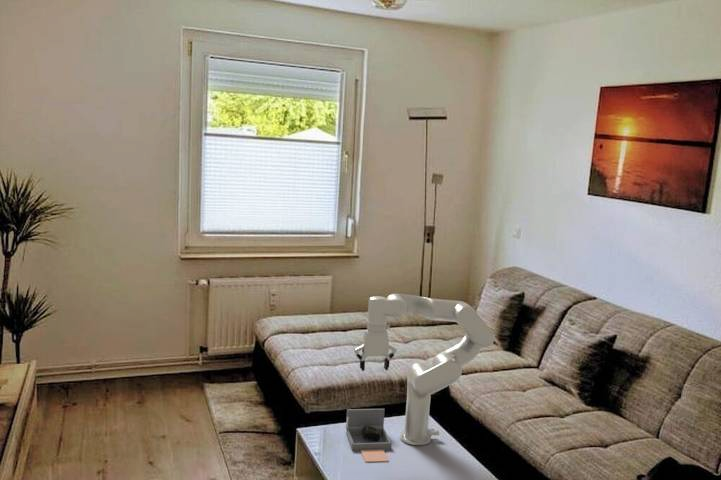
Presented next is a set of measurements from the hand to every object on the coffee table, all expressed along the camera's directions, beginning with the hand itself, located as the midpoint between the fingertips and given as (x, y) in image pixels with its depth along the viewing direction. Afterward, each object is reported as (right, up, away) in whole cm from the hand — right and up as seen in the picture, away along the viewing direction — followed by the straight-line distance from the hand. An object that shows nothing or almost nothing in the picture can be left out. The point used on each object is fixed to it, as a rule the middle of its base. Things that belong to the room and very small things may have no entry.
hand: (374, 369), depth 243 cm
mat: (0, -31, -10) cm, 33 cm away
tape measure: (-3, -29, +1) cm, 29 cm away
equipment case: (-3, -29, +1) cm, 29 cm away
